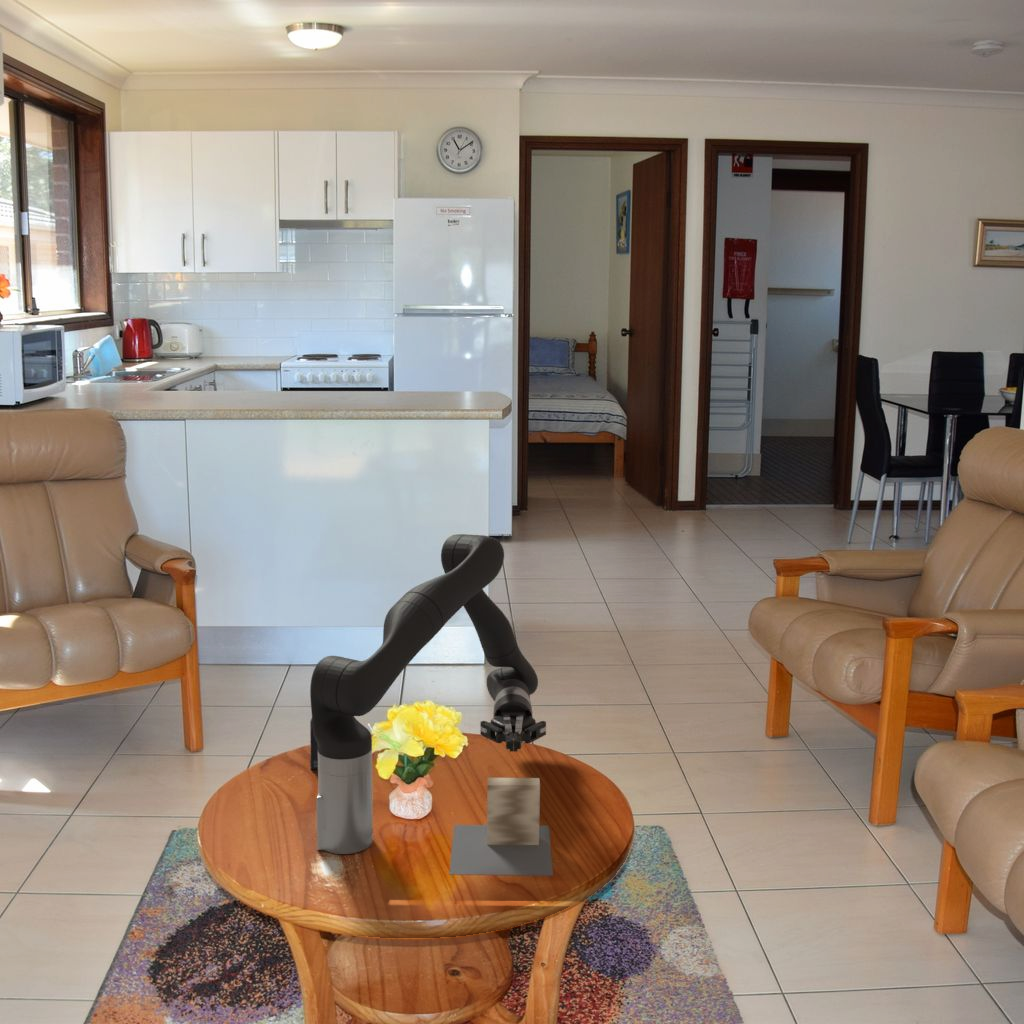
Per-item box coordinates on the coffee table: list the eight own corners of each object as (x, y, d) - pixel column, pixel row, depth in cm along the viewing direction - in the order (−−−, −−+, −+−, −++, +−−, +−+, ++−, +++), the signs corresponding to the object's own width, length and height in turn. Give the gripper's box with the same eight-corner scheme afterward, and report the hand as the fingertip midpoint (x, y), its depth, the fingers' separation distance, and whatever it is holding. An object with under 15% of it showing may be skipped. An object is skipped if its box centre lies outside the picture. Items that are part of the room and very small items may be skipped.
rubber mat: (449, 877, 191) (449, 874, 191) (454, 827, 209) (454, 824, 209) (552, 878, 191) (552, 875, 191) (548, 828, 209) (548, 825, 209)
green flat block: (486, 844, 201) (487, 785, 199) (487, 836, 204) (487, 777, 202) (538, 845, 201) (540, 785, 199) (538, 836, 205) (539, 777, 202)
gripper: (478, 693, 226) (477, 727, 209) (546, 693, 226) (550, 727, 209) (478, 729, 227) (477, 766, 210) (546, 729, 228) (550, 766, 211)
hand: (513, 746), depth 210 cm, fingers closed
